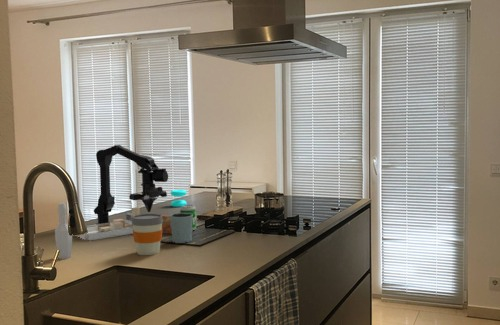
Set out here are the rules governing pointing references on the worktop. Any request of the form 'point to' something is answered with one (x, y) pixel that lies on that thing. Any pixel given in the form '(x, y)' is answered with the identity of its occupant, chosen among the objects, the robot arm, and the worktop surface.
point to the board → (111, 229)
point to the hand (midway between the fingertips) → (149, 211)
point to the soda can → (191, 210)
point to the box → (90, 230)
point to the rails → (109, 231)
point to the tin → (166, 225)
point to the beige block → (116, 225)
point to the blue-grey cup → (181, 227)
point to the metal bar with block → (133, 213)
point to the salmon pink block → (120, 221)
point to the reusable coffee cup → (147, 233)
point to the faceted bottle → (63, 233)
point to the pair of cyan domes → (177, 194)
